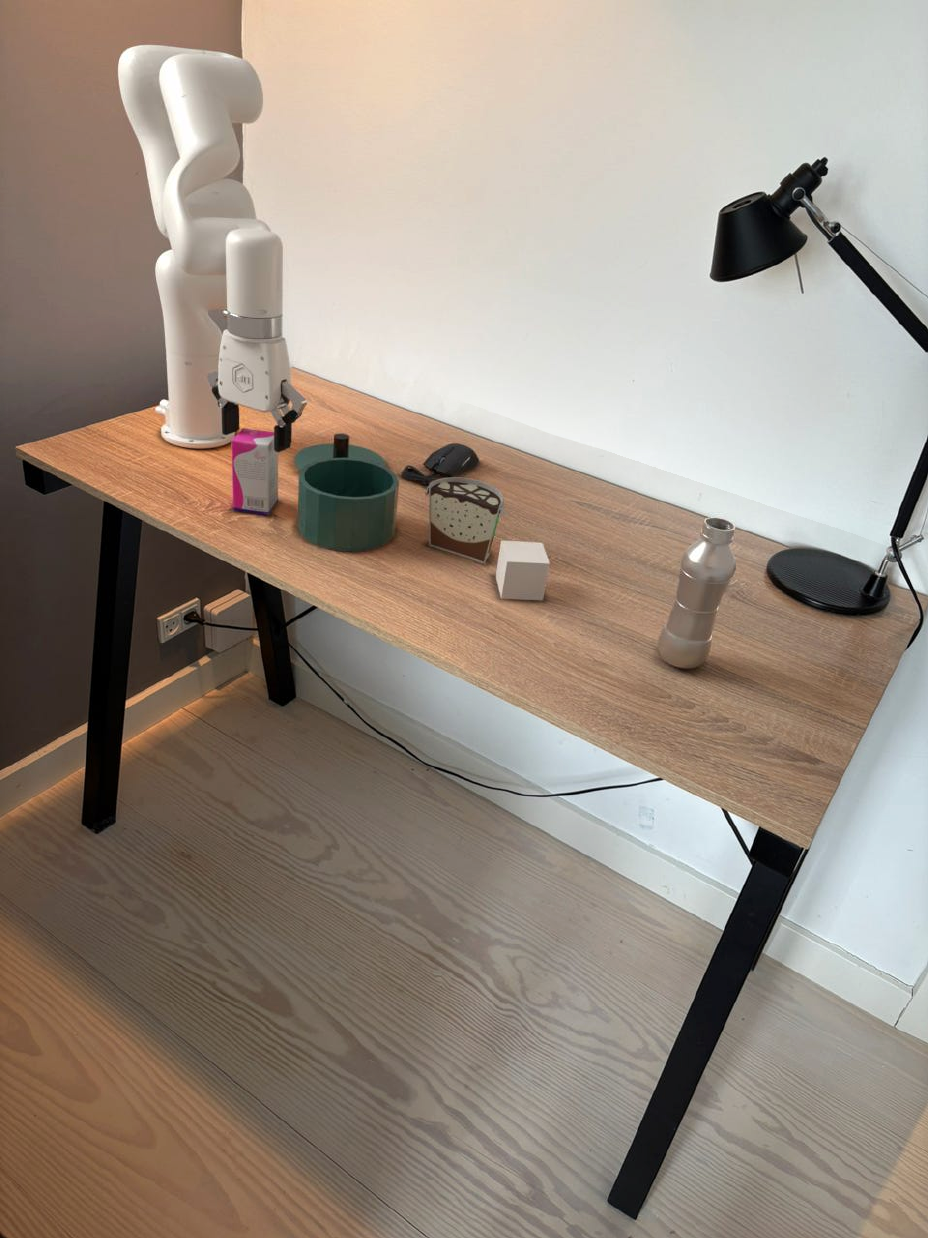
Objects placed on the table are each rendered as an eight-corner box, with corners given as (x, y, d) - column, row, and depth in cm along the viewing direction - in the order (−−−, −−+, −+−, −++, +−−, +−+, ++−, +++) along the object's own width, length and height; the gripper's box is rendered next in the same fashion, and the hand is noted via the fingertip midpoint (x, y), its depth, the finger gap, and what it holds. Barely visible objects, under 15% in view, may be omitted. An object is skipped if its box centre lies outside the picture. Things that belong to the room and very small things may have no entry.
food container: (510, 550, 143) (519, 490, 138) (494, 566, 138) (503, 505, 133) (438, 527, 147) (444, 468, 141) (420, 542, 142) (426, 481, 136)
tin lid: (275, 468, 158) (275, 436, 155) (329, 442, 170) (330, 412, 167) (352, 495, 153) (353, 462, 150) (402, 466, 165) (404, 436, 162)
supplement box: (279, 500, 148) (279, 431, 142) (268, 516, 143) (269, 446, 137) (243, 494, 148) (242, 426, 142) (231, 510, 143) (230, 440, 137)
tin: (277, 530, 140) (278, 478, 135) (335, 498, 151) (337, 449, 147) (359, 561, 135) (362, 508, 130) (412, 526, 146) (417, 476, 142)
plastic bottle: (648, 645, 125) (684, 510, 114) (697, 647, 126) (737, 513, 115) (661, 673, 119) (700, 534, 109) (711, 676, 120) (755, 538, 110)
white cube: (495, 577, 136) (500, 540, 132) (535, 579, 136) (542, 542, 133) (501, 598, 131) (507, 561, 127) (542, 600, 131) (549, 563, 128)
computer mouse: (512, 475, 167) (515, 454, 165) (451, 501, 155) (453, 479, 153) (458, 453, 173) (461, 432, 171) (396, 477, 161) (397, 455, 159)
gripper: (188, 316, 131) (194, 432, 140) (288, 343, 125) (287, 463, 134) (224, 307, 137) (227, 420, 146) (321, 333, 131) (318, 449, 140)
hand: (256, 440), depth 140 cm, fingers open, 9 cm apart
